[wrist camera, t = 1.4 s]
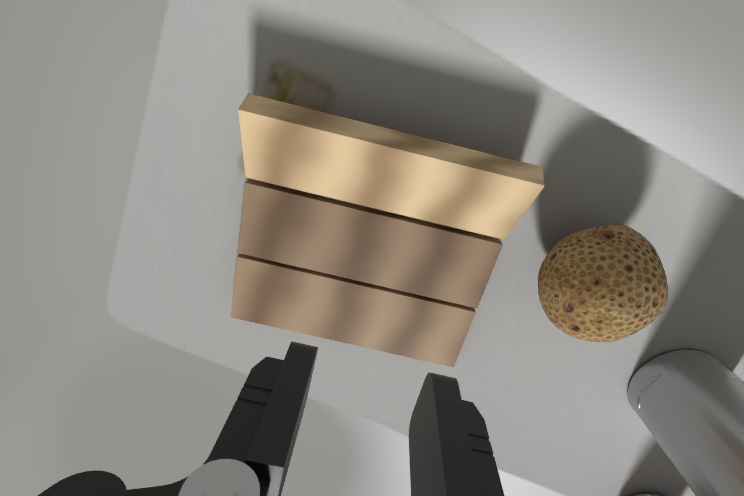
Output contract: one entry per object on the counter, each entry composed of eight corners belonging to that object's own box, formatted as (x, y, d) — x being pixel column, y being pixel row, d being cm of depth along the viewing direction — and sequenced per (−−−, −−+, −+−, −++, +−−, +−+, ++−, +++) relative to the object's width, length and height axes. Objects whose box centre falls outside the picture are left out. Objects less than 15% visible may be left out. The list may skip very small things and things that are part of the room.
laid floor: (497, 235, 35) (502, 244, 34) (450, 354, 41) (453, 367, 39) (253, 177, 34) (245, 182, 33) (238, 305, 40) (230, 317, 38)
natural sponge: (573, 185, 33) (640, 227, 24) (646, 243, 35) (736, 302, 26) (499, 264, 37) (534, 327, 27) (570, 314, 38) (625, 389, 29)
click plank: (542, 166, 29) (545, 185, 28) (503, 221, 35) (504, 239, 33) (248, 93, 28) (238, 109, 27) (254, 161, 34) (245, 177, 32)
